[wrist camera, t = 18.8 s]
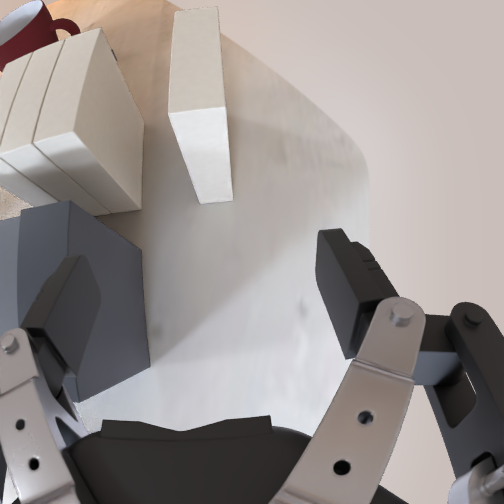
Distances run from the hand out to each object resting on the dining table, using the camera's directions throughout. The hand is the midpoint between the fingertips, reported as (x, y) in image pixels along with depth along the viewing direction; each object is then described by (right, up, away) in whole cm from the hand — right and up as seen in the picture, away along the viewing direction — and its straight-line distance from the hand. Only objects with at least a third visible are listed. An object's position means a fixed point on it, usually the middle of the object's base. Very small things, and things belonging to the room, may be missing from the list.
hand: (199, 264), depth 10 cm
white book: (-1, +8, +15) cm, 17 cm away
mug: (-22, +22, +17) cm, 35 cm away
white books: (-11, +8, +14) cm, 20 cm away
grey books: (-11, -4, +12) cm, 17 cm away
